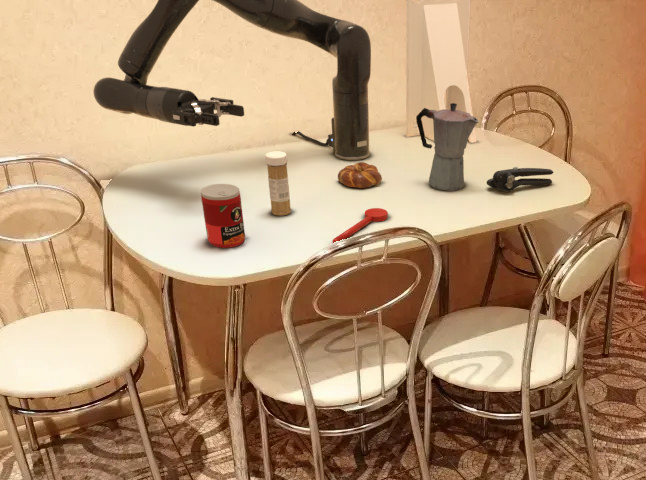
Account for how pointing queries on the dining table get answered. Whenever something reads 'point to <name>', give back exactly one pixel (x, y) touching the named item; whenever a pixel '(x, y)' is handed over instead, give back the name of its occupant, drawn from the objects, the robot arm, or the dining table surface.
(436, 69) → the cream upright block
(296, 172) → the dining table surface
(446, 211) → the dining table surface
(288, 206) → the sprinkles bottle
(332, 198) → the dining table surface
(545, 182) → the can opener
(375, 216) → the red spoon
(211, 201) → the canned food
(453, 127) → the moka pot
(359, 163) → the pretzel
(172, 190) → the dining table surface
